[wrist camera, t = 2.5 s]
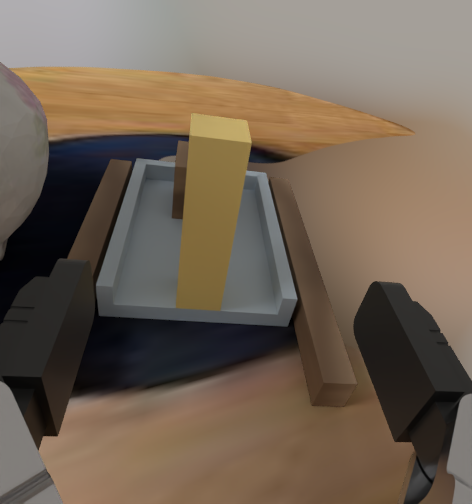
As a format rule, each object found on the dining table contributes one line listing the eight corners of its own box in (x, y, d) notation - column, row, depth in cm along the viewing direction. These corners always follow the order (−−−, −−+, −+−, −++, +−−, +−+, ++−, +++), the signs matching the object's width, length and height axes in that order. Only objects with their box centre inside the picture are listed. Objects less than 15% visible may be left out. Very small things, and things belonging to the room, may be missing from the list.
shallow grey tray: (98, 315, 26) (79, 121, 18) (137, 183, 40) (136, 40, 32) (287, 326, 28) (348, 155, 19) (260, 196, 42) (289, 64, 33)
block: (171, 218, 34) (174, 166, 31) (175, 189, 38) (178, 140, 35) (228, 223, 34) (236, 173, 31) (226, 194, 38) (233, 147, 35)
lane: (26, 397, 21) (17, 371, 19) (111, 180, 39) (110, 159, 38) (343, 406, 23) (357, 384, 22) (283, 198, 42) (288, 179, 40)
